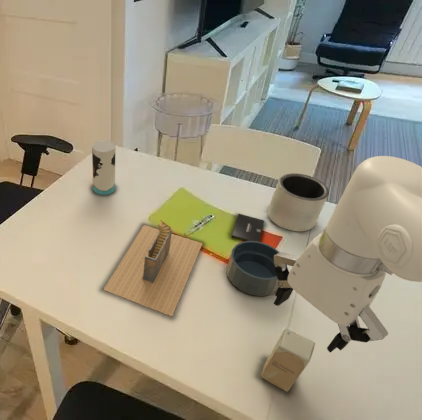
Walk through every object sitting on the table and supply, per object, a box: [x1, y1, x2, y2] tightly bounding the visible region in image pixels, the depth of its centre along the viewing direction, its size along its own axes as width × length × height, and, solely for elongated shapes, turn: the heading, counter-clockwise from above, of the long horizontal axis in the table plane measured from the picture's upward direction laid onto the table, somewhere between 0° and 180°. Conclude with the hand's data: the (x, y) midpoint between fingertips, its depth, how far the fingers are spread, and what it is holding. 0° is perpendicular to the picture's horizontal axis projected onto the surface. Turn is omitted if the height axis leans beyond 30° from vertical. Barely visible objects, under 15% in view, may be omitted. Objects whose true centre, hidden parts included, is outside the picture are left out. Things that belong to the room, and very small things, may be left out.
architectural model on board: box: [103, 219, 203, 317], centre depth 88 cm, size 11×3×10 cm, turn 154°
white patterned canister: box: [91, 139, 117, 196], centre depth 111 cm, size 7×7×15 cm
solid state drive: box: [231, 213, 265, 242], centre depth 101 cm, size 7×10×1 cm
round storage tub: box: [225, 240, 288, 297], centre depth 86 cm, size 12×12×6 cm
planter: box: [267, 172, 330, 232], centre depth 101 cm, size 12×13×11 cm
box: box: [260, 327, 316, 393], centre depth 66 cm, size 5×4×11 cm
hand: (306, 322), depth 59 cm, fingers open, 9 cm apart
